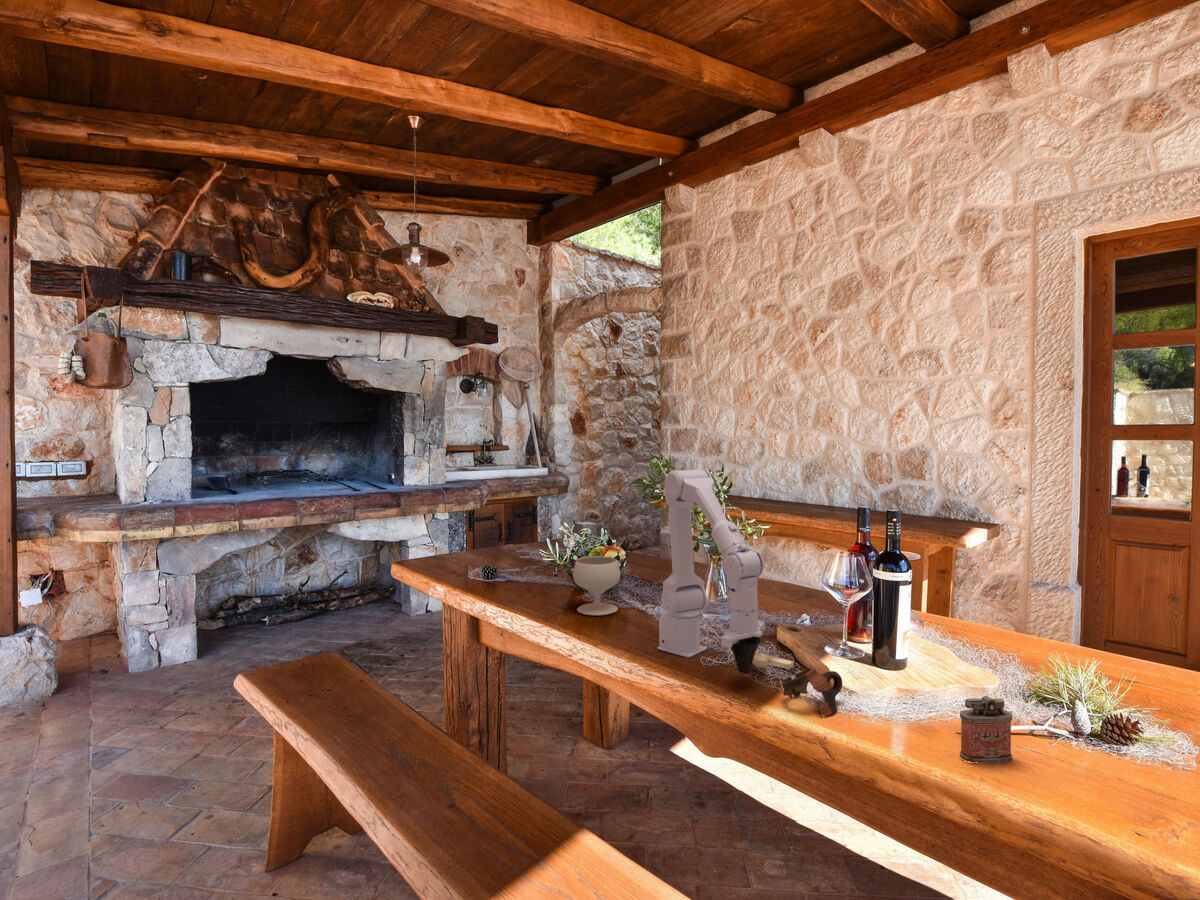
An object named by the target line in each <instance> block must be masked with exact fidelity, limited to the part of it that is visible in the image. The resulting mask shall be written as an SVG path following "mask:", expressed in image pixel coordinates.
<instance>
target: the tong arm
mask: <svg viewBox="0 0 1200 900" xmlns="http://www.w3.org/2000/svg"><path fill="white" fill-rule="evenodd" d="M760 653H761V652H760V651H758V649H757V650H756V652H755V655H754V658H753V662H752V665H754V666H755V667H756V669H757V668H768V660H767V659H766V658H765V657H764V656H762V655H761V654H762V653H761V654H760Z"/></svg>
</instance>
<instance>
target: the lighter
mask: <svg viewBox="0 0 1200 900" xmlns="http://www.w3.org/2000/svg"><path fill="white" fill-rule="evenodd" d="M964 707H966V708H967V709H964V710H960V711H959V717H960V722H961V723H960V732H961V733H960V734H961V735H960V737H961V738H960V743H961V744H960V751H959V758H960V757H961V758H962V759H964V760H966V761H970V762H978V763H983V764H982V765H1001V764H1006V763H1007V764H1008V763H1012V761H1013V754H1012V751H1011V750H1012V748H1011V747H1012V746H1011V745H1012V721H1013V713H1012V712H1010V711H1008V710H1005V709H1004V708H1005V700H1004V699H1003V698H999V697H998V698H991V697H990V696H988V695H983V696H982V697H981V698H979V697H978V698H977V697H976V698H975V697H974V698H972V697H971V698H966V699H965V700H964ZM984 763H985V764H984Z"/></svg>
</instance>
